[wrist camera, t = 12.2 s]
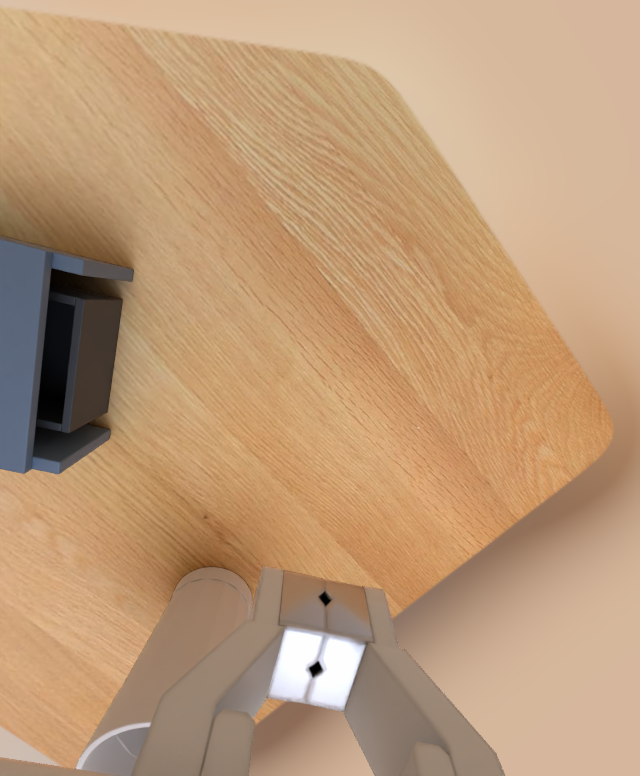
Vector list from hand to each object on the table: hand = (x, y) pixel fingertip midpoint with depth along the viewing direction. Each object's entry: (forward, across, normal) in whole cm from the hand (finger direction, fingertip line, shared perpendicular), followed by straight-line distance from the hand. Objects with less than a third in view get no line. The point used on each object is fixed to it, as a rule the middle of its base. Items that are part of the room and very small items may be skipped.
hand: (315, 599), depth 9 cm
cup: (+18, +4, +18) cm, 26 cm away
